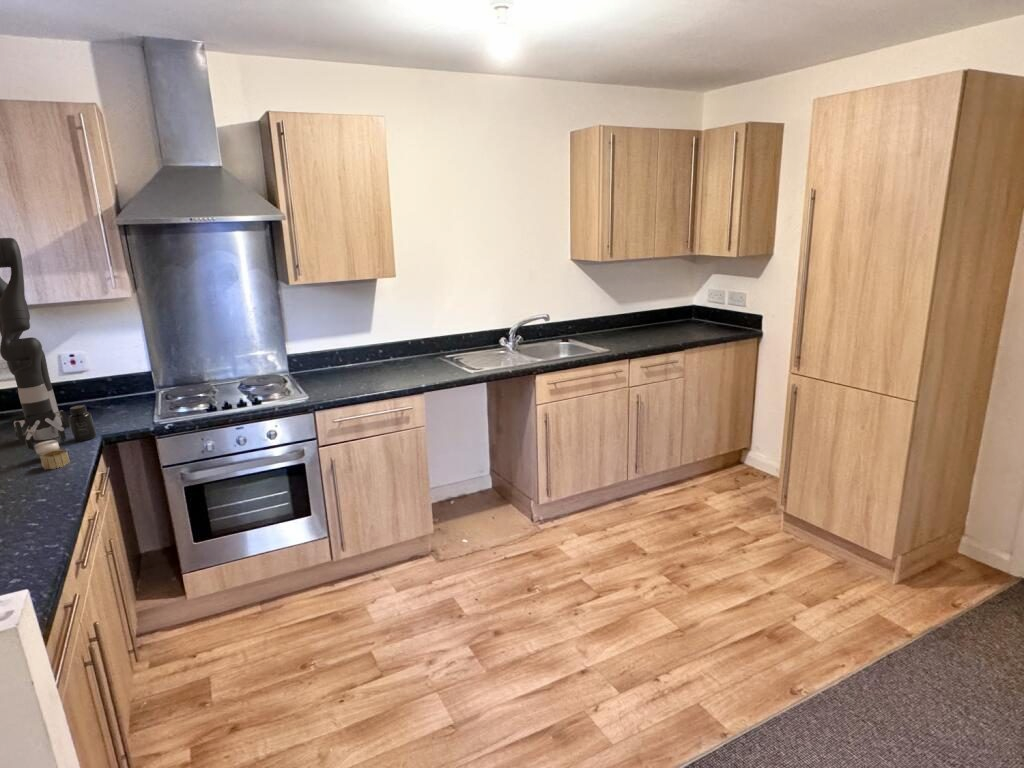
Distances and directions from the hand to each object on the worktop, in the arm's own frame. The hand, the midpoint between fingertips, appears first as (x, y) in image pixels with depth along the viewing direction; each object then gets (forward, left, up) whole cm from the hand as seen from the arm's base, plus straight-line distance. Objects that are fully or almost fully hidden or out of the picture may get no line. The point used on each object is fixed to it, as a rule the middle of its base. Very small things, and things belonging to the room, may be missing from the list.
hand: (47, 445), depth 205 cm
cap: (-1, 0, -4) cm, 4 cm away
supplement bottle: (-12, +14, -5) cm, 19 cm away
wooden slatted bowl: (+9, -1, -4) cm, 11 cm away
